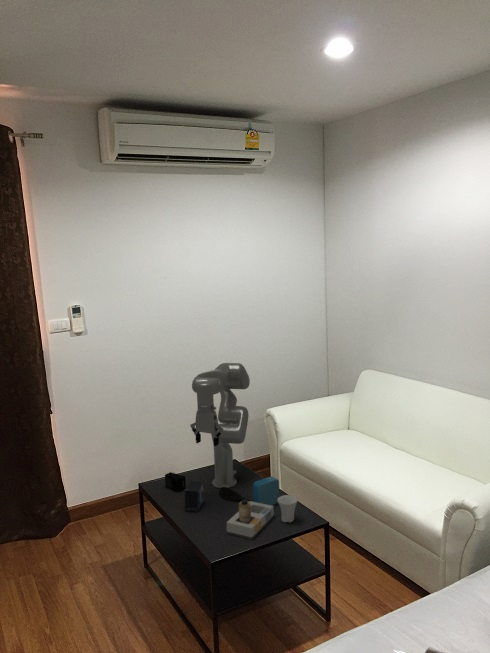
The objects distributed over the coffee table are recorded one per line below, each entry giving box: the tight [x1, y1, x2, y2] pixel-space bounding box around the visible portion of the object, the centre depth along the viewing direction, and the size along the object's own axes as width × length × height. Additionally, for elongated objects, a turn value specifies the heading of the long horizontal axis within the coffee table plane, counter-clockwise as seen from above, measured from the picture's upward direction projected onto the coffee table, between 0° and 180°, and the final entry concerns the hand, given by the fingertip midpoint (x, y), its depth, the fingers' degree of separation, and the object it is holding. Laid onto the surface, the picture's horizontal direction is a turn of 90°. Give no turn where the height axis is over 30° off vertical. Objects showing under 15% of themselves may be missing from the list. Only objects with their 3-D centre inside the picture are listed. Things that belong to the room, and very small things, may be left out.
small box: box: [184, 480, 205, 513], centre depth 251 cm, size 11×6×10 cm, turn 168°
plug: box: [238, 498, 251, 524], centre depth 228 cm, size 5×5×12 cm
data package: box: [252, 476, 280, 506], centre depth 251 cm, size 12×4×12 cm, turn 125°
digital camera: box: [164, 471, 187, 493], centre depth 272 cm, size 10×5×7 cm, turn 54°
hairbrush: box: [218, 487, 254, 503], centre depth 257 cm, size 8×4×25 cm
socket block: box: [226, 500, 275, 540], centre depth 233 cm, size 22×12×5 cm, turn 152°
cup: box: [277, 494, 299, 523], centre depth 236 cm, size 9×9×10 cm
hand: (207, 443), depth 249 cm, fingers open, 9 cm apart
